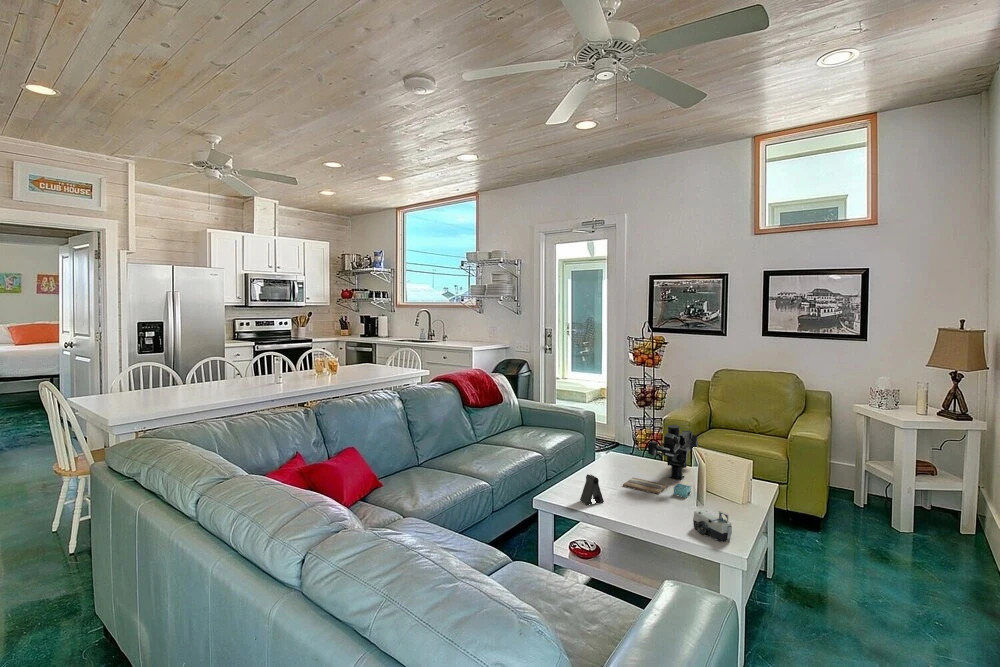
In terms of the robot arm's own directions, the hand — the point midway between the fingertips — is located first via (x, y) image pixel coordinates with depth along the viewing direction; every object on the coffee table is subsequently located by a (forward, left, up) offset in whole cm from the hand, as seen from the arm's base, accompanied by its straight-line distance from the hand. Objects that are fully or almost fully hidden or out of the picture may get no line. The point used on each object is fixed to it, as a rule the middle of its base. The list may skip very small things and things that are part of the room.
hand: (662, 457), depth 245 cm
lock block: (-2, +9, -17) cm, 19 cm away
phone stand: (+33, -21, -17) cm, 42 cm away
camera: (+34, +31, -17) cm, 50 cm away
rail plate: (-2, -9, -17) cm, 19 cm away
